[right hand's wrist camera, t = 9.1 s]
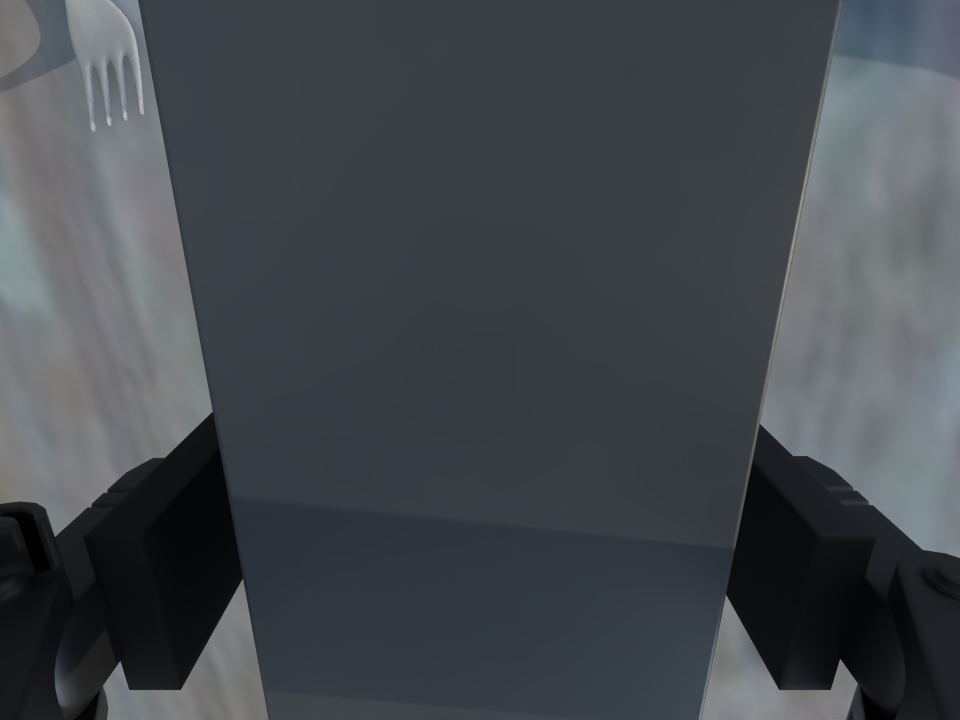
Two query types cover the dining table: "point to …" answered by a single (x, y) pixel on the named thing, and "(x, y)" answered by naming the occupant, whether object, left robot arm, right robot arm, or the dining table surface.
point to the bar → (488, 331)
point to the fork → (103, 49)
